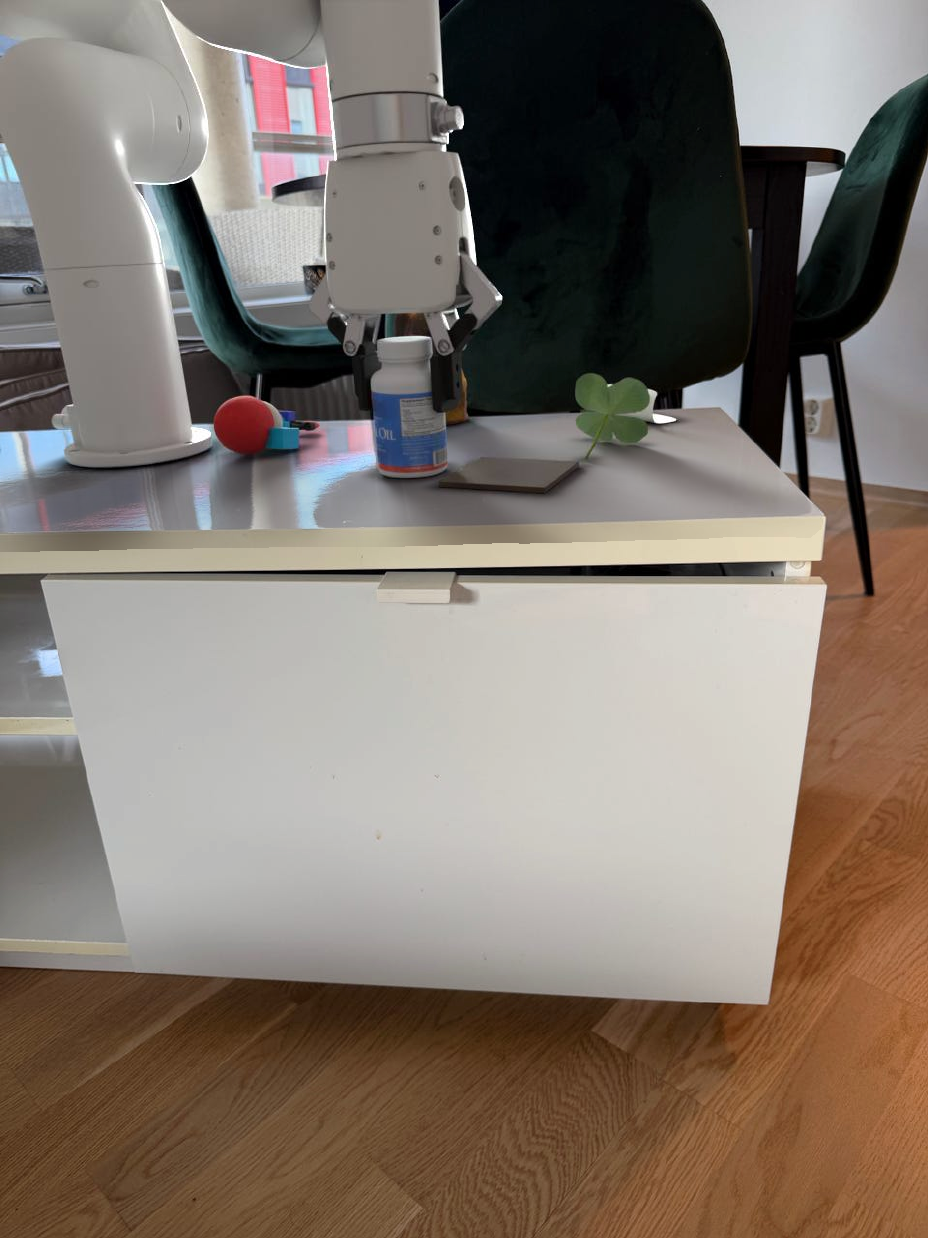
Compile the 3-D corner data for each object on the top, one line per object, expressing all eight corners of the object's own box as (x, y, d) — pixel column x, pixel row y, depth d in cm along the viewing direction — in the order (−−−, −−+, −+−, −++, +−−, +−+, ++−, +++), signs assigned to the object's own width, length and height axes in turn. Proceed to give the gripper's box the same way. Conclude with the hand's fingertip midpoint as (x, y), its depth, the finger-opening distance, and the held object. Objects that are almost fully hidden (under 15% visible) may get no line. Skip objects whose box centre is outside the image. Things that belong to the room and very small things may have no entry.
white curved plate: (624, 409, 88) (625, 378, 86) (682, 419, 81) (683, 386, 80) (595, 414, 86) (595, 383, 85) (652, 425, 80) (653, 391, 78)
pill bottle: (370, 468, 69) (358, 338, 65) (435, 459, 71) (426, 333, 67) (389, 483, 64) (378, 344, 61) (458, 473, 66) (451, 337, 62)
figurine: (472, 413, 90) (464, 279, 85) (463, 426, 83) (454, 282, 79) (411, 416, 90) (400, 283, 86) (398, 428, 84) (385, 286, 79)
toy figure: (254, 446, 87) (185, 453, 73) (254, 395, 86) (184, 392, 72) (328, 451, 86) (273, 459, 72) (329, 400, 85) (273, 397, 71)
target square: (438, 486, 63) (438, 481, 62) (481, 461, 69) (481, 456, 69) (545, 493, 60) (544, 487, 59) (579, 466, 66) (579, 461, 66)
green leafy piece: (593, 510, 73) (618, 454, 76) (650, 465, 66) (675, 406, 69) (523, 460, 71) (551, 406, 74) (573, 410, 64) (602, 352, 67)
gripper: (529, 126, 59) (534, 402, 66) (311, 150, 65) (336, 399, 72) (486, 114, 52) (497, 421, 59) (250, 142, 59) (284, 415, 66)
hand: (409, 406), depth 66 cm, fingers closed on pill bottle, 5 cm apart
